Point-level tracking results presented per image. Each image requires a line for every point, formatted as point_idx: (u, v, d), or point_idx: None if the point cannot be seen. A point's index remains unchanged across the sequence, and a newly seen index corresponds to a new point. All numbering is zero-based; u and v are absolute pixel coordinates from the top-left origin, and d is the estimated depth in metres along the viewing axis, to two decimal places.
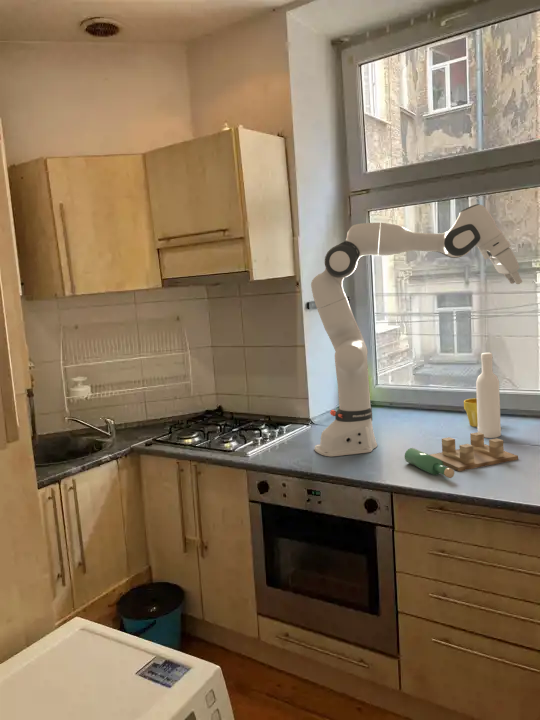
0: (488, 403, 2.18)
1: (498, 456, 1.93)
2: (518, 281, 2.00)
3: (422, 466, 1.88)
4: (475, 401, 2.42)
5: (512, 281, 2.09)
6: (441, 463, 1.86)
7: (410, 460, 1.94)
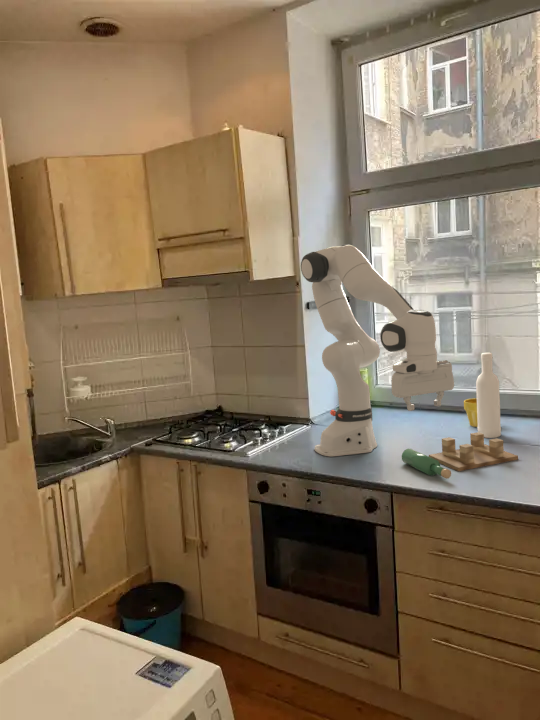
0: (488, 403, 2.18)
1: (498, 456, 1.93)
2: (408, 407, 1.87)
3: (420, 470, 1.88)
4: (475, 401, 2.42)
5: (435, 403, 1.90)
6: (436, 462, 1.85)
7: (408, 463, 1.94)
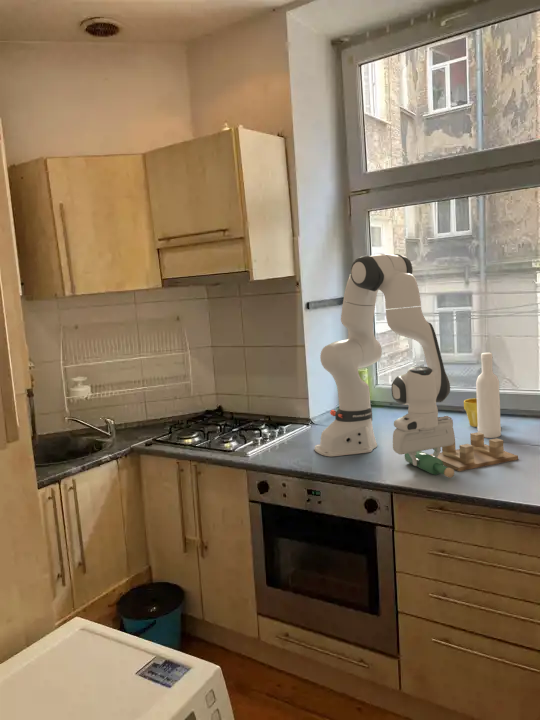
0: (488, 403, 2.18)
1: (498, 456, 1.93)
2: (413, 462, 1.90)
3: (422, 466, 1.88)
4: (475, 401, 2.42)
5: None
6: (441, 463, 1.86)
7: (410, 460, 1.94)
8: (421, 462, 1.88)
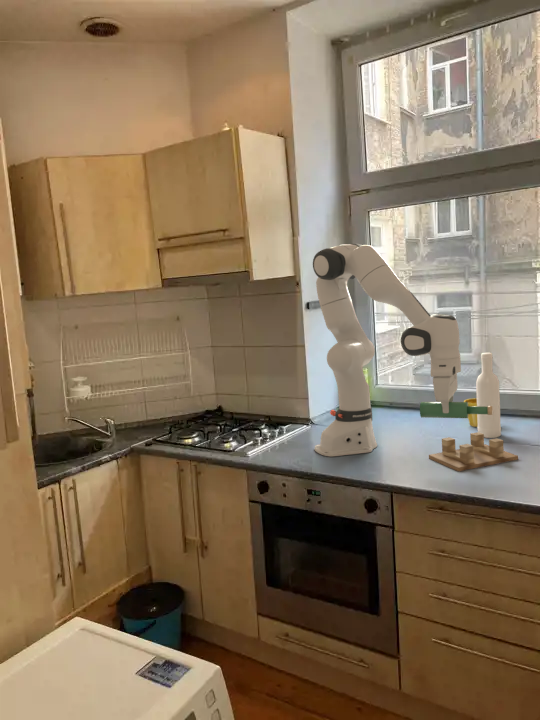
0: (488, 403, 2.18)
1: (498, 456, 1.93)
2: (445, 410, 1.88)
3: (453, 413, 1.89)
4: (475, 401, 2.42)
5: None
6: None
7: (431, 412, 1.92)
8: (452, 410, 1.89)
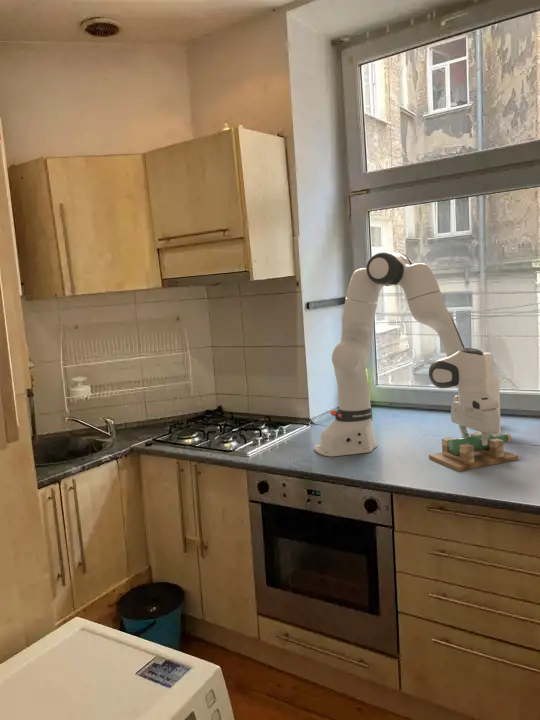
0: None
1: (498, 456, 1.93)
2: (484, 443, 1.92)
3: (485, 446, 1.96)
4: None
5: None
6: None
7: None
8: None
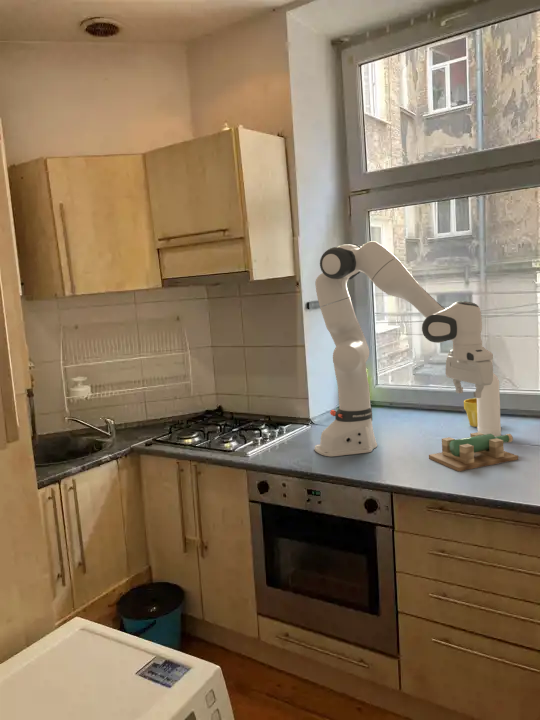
0: (488, 403, 2.18)
1: (498, 456, 1.93)
2: (478, 395, 1.92)
3: (486, 448, 1.95)
4: (475, 401, 2.42)
5: (459, 391, 2.01)
6: None
7: None
8: (485, 446, 1.95)
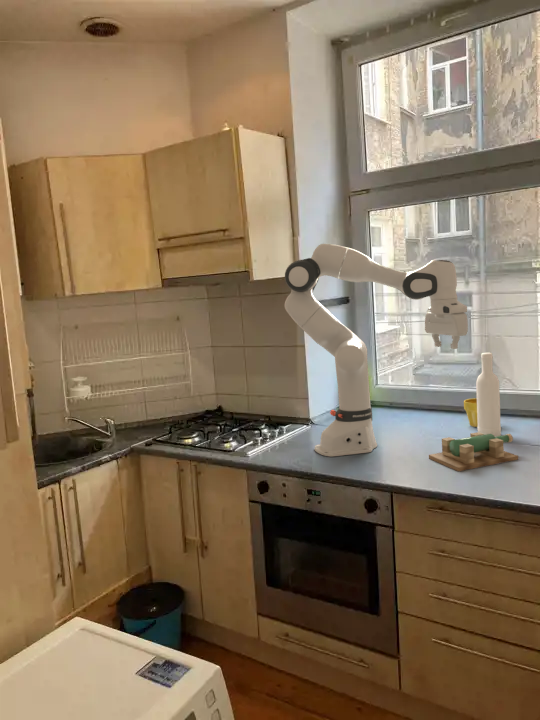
0: (488, 403, 2.18)
1: (498, 456, 1.93)
2: (454, 346, 2.06)
3: (486, 448, 1.95)
4: (475, 401, 2.42)
5: (438, 344, 2.15)
6: None
7: None
8: (485, 446, 1.95)
